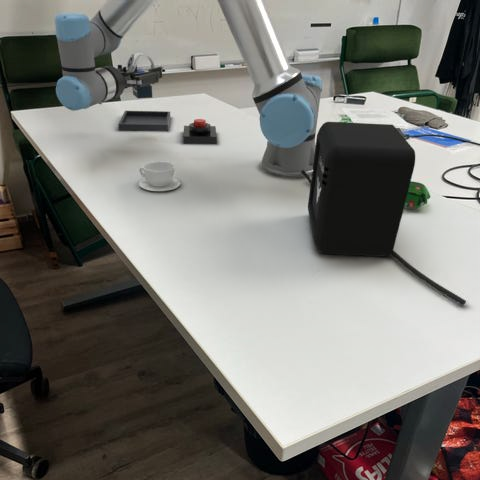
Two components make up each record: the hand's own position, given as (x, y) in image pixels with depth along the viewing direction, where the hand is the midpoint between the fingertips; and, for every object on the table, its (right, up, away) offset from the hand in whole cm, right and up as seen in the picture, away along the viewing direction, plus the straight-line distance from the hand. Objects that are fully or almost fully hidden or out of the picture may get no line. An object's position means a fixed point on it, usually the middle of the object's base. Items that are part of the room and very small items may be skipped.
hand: (148, 70), depth 140 cm
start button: (+15, -14, +7) cm, 21 cm away
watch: (-2, -8, 0) cm, 8 cm away
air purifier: (+48, -56, -42) cm, 85 cm away
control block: (+14, -16, +9) cm, 24 cm away
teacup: (+7, -41, -24) cm, 48 cm away
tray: (-5, -7, +20) cm, 22 cm away
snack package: (+63, -46, -28) cm, 82 cm away
